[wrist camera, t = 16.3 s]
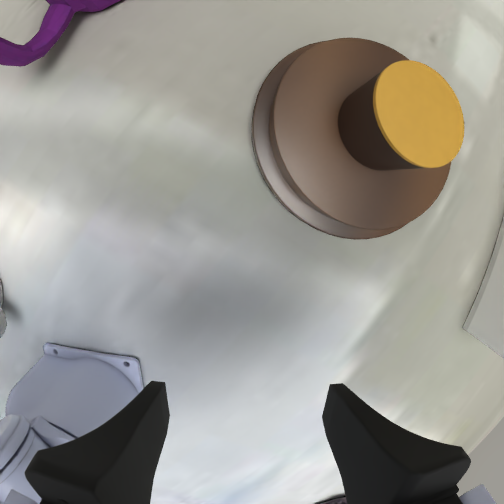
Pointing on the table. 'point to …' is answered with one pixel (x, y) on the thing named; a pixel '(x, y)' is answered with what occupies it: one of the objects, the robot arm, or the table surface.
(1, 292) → the cup
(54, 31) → the mug
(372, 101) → the coffee pod
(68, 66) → the table surface
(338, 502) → the crystal cluster
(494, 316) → the butter dish
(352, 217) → the pod stand
